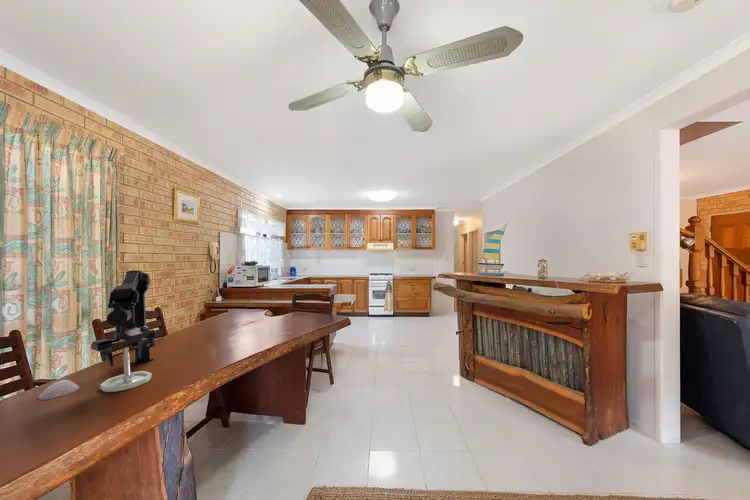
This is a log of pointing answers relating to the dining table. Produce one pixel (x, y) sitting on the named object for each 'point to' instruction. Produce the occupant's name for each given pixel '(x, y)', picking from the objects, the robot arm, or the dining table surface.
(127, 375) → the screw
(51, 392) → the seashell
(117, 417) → the dining table surface
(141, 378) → the dish
